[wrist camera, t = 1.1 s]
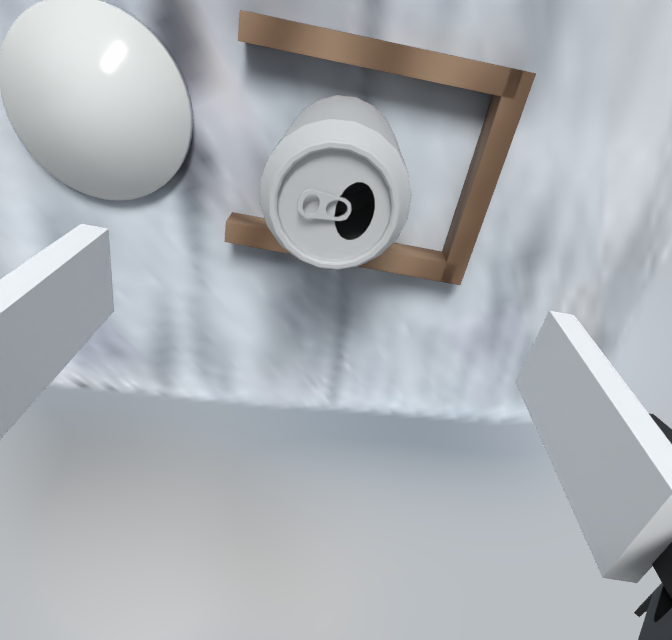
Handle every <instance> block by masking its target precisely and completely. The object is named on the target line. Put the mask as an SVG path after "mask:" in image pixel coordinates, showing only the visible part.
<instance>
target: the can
mask: <svg viewBox="0 0 672 640" xmlns="http://www.w3.org/2000/svg"><path fill="white" fill-rule="evenodd" d="M410 202H411V189H410V183H409V176H408V171H407V168H406V165H405V163H404V160H403V157H402V154H401V152H400V149H399V146H398V143H397V141H396V138H395V135H394V133H393V131H392V129H391V127H390V125H389V123H388V121H387V119H386V118H385V117H384V116H383V115H382V114H381V113H380V112H379V111H378V110H377V109H376V108H375V107H374V106H373V105H371V104H369V103H367V102H365V101H363V100H361V99H359V98H357V97H350V96H340V95H335V96H331V97H327V98H323V99H319V100H317V101H316V102H314V103H313V104H311V105H310V106H308V107H307V108H305V109H304V110H302V112H301V113H300V114H299V116H298V117H297V118H296V120H295V121H294V122H293V123H292V125H291V126H290V128H289V129H288V130H287V132H286V133H285V135H284V136H283V138H282V139H281V140H280V142H279V143H278V145H277V146H276V148H275V149H274V151H273V152H272V153H271V155H270V156H269V158H268V160H267V163H266V166H265V169H264V172H263V175H262V178H261V186H260V205H261V208H262V211H263V214H264V217H265V221H266V224H267V227H268V228H269V229H270V231H271V232H272V234H273V235H274V237H275V238H276V240H277V241H278V242H279V244H280V245H281V246H282V247H284V248H285V249H286V250H287V251H289V252H290V253H291V254H292V255H294V256H295V257H296V258H297V259H299V260H300V261H303V262H305V263H308V264H310V265H313V266H315V267H318V268H324V269H334V270H340V269H345V268H351V267H356V266H359V265H362V264H364V263H366V262H368V261H370V260H372V259H374V258H376V257H378V256H379V255H381V254H382V253H383V252H384V251H385V250H386V249H387V248H388V247H389V246H390V245H391V244H392V243H393V242H394V241H395V240H396V239H397V238H398V236H399V234H400V232H401V230H402V228H403V226H404V225H405V223H406V221H407V219H408V213H409V207H410Z"/></svg>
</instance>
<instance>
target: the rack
mask: <svg viewBox="0 0 672 640" xmlns="http://www.w3.org/2000/svg"><path fill="white" fill-rule="evenodd" d="M238 41H241V42H246V43H251V44H256V45H260V46H265V47H270V48H275V49H279V50H284V51H289V52H294V53H298V54H303V55H308V56H312V57H317V58H322V59H327V60H331V61H336V62H341V63H346V64H350V65H355V66H360V67H365V68H369V69H374V70H379V71H384V72H388V73H393V74H398V75H403V76H407V77H412V78H417V79H422V80H426V81H431V82H436V83H441V84H445V85H450V86H455V87H460V88H464V89H469V90H474V91H479V92H483V93H488V94H493V96H492V99H491V102H490V105H489V108H488V112H487V115H486V118H485V121H484V124H483V127H482V130H481V133H480V136H479V139H478V143H477V146H476V149H475V152H474V155H473V158H472V161H471V164H470V167H469V170H468V173H467V177H466V180H465V183H464V186H463V189H462V192H461V195H460V198H459V201H458V204H457V207H456V211H455V214H454V217H453V220H452V223H451V226H450V229H449V232H448V235H447V238H446V242H445V245H444V248H443V251H442V252H440V251H435V250H430V249H424V248H419V247H414V246H408V245H403V244H398V243H392V244H391V245H390V246H389V247H388V248H387V249H386V250H385V251H384V252H383V253H382V254H381V255H379V256H378V257H376V258H374V259H372V260H370V261H368V262H366V263H364V264H362V265H359V267H364V268H370V269H375V270H381V271H386V272H392V273H397V274H403V275H408V276H413V277H419V278H424V279H430V280H435V281H441V282H446V283H451V284H457V285H460V284H461V281H462V279H463V276H464V273H465V270H466V268H467V265H468V262H469V259H470V256H471V254H472V251H473V248H474V245H475V242H476V240H477V237H478V234H479V231H480V228H481V226H482V223H483V220H484V217H485V215H486V212H487V209H488V206H489V203H490V201H491V198H492V195H493V192H494V189H495V187H496V184H497V181H498V178H499V175H500V173H501V170H502V167H503V164H504V162H505V159H506V156H507V153H508V150H509V148H510V145H511V142H512V139H513V136H514V134H515V131H516V128H517V125H518V122H519V120H520V117H521V114H522V111H523V109H524V106H525V103H526V100H527V97H528V95H529V92H530V89H531V86H532V83H533V81H534V78H535V75H536V74H535V73H531V72H527V71H522V70H517V69H513V68H508V67H503V66H499V65H494V64H489V63H485V62H480V61H476V60H471V59H466V58H462V57H457V56H452V55H448V54H443V53H438V52H434V51H429V50H424V49H420V48H415V47H410V46H406V45H401V44H396V43H392V42H387V41H382V40H378V39H373V38H368V37H364V36H359V35H354V34H350V33H345V32H341V31H336V30H331V29H327V28H322V27H317V26H313V25H308V24H303V23H299V22H294V21H289V20H285V19H280V18H275V17H271V16H266V15H261V14H257V13H252V12H247V11H242V10H240V18H239V33H238ZM225 242H229V243H234V244H239V245H245V246H250V247H256V248H261V249H267V250H272V251H278V252H283V253H288V254H291V253H290V252H289V251H287V250H286V249H285V248H284V247H282V246H281V245H280V244H279V242H278V241H277V240H276V238H275V237H274V235H273V234H272V232H271V231H270V229H269V228H268V227H267V224H266V221H265V218H260V217H254V216H249V215H244V214H238V213H233V212H232V214H231V215H230V217H229V218H228V220H227V221H226V230H225Z"/></svg>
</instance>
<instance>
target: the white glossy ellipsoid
mask: <svg viewBox="0 0 672 640" xmlns="http://www.w3.org/2000/svg"><path fill="white" fill-rule="evenodd" d="M0 91H1V96H2V100H3V104H4V107H5V110H6V113H7V116H8V118H9V120H10V122H11V124H12V127H13V129H14V130H15V132H16V134H17V136H18V137H19V139H20V141H21V142H22V143H23V145H24V146H25V148H26V149H27V150H28V152H29V153H30V154H31V155H32V156H33V157H34V159H35V160H36V161H37V162H38V163H39V164H40V165H41V166H42V167H43V168H44V169H45V170H46V171H48V172H49V173H50V174H51V175H53V176H54V177H55V178H57V179H58V180H59V181H61V182H63V183H64V184H66V185H67V186H69V187H71V188H73V189H75V190H77V191H79V192H81V193H84V194H87V195H89V196H93V197H97V198H101V199H107V200H131V199H136V198H140V197H143V196H146V195H148V194H150V193H153V192H155V191H156V190H158V189H159V188H161V187H162V186H163V185H165V184H166V183H167V182H168V181H169V180H170V179H171V178H172V177H174V175H175V174H176V173H177V172H178V170H179V169H180V168H181V166H182V164H183V162H184V161H185V159H186V156H187V154H188V151H189V148H190V144H191V140H192V132H193V111H192V105H191V99H190V95H189V91H188V88H187V85H186V82H185V80H184V77H183V75H182V72H181V70H180V68H179V67H178V65H177V63H176V61H175V59H174V58H173V56H172V55H171V53H170V52H169V50H168V49H167V47H166V46H165V45H164V44H163V42H162V41H161V40H160V39H159V38H158V37H157V35H156V34H155V33H154V32H152V31H151V30H150V29H149V28H148V27H147V26H146V25H145V24H144V23H142V22H141V21H140V20H138V19H137V18H136V17H135V16H133V15H131V14H130V13H128V12H126V11H125V10H123V9H121V8H119V7H117V6H115V5H112V4H110V3H108V2H104V1H101V0H44V1H41V2H39V3H36V4H35V5H33V6H31V7H30V8H28V9H27V10H26V11H24V12H23V13H22V14H21V15H20V16H19V17H18V18H17V19H16V21H15V22H14V23H13V25H12V26H11V27H10V29H9V31H8V33H7V35H6V37H5V39H4V42H3V45H2V49H1V53H0Z"/></svg>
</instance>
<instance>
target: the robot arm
mask: <svg viewBox="0 0 672 640" xmlns="http://www.w3.org/2000/svg"><path fill="white" fill-rule="evenodd" d="M113 312H114V303H113V289H112V274H111V259H110V244H109V230H108V229H107V228H101V227H96V226H90V225H85V224H80V225H79V226H77V227H76V228H74V229H73V230H71V231H70V232H69V233H67V234H66V235H64V236H63V237H61V238H60V239H58V240H57V241H55V242H54V243H53V244H51V245H50V246H48V247H47V248H45V249H44V250H42V251H41V252H39V253H38V254H36V255H35V256H34V257H32V258H31V259H29V260H28V261H26V262H25V263H23V264H22V265H20V266H19V267H18V268H16V269H15V270H13V271H12V272H10V273H9V274H7V275H6V276H4V277H3V278H2V279H0V440H1V438H2V437H3V436H4V435H5V434H6V433H7V432H8V430H9V429H10V428H11V427H12V426H13V425H14V424H15V423H16V421H17V420H18V419H19V418H20V417H21V416H22V415H23V413H24V412H25V411H26V410H27V409H28V408H29V407H30V406H31V404H32V403H33V402H34V401H35V400H36V399H37V398H38V396H39V395H40V394H41V393H42V392H43V391H44V390H45V389H46V387H47V386H48V385H49V384H50V383H51V382H52V381H53V380H54V378H55V377H56V376H57V375H58V374H59V373H60V372H61V370H62V369H63V368H64V367H65V366H66V365H67V364H68V363H69V361H70V360H71V359H72V358H73V357H74V356H75V355H76V354H77V352H78V351H79V350H80V349H81V348H82V347H83V346H84V344H85V343H86V342H87V341H88V340H89V339H90V338H91V337H92V335H93V334H94V333H95V332H96V331H97V330H98V329H99V327H100V326H101V325H102V324H103V323H104V322H105V321H106V320H107V318H108V317H109V316H110V315H111V314H112V313H113ZM515 382H516V384H517V386H518V389H519V391H520V393H521V395H522V398H523V400H524V402H525V404H526V407H527V409H528V411H529V413H530V416H531V418H532V420H533V422H534V425H535V427H536V429H537V431H538V433H539V436H540V438H541V440H542V442H543V445H544V447H545V449H546V451H547V454H548V456H549V458H550V460H551V463H552V465H553V467H554V469H555V472H556V474H557V476H558V478H559V481H560V483H561V485H562V487H563V490H564V492H565V494H566V496H567V498H568V501H569V503H570V505H571V508H572V510H573V512H574V514H575V517H576V519H577V521H578V523H579V525H580V528H581V530H582V532H583V534H584V537H585V539H586V541H587V543H588V546H589V548H590V550H591V552H592V555H593V557H594V559H595V561H596V563H597V566H598V568H599V570H600V573H601V575H602V577H603V578H609V579H615V580H621V581H628V582H634V583H637V582H638V581H639V580H640V579H641V578H642V577H643V576H644V575H645V574H646V573H647V571H648V570H649V569H650V568H651V567H652V566H653V567H654V569H655V571H656V572H657V574H658V576H659V578H660V580H661V582H662V583H661V584H660V585H659V587H657V589H656V590H655V591H654V592H653V593H652V594H651V595H650V596H649V597H648V598H647V599H646V600H645V601H644V602H643V603H642V604H641V605H640V606H639V608H638V609H637V610H636V611H635V612H634V613H635V614H636V615H637V616H639V617H640V616H641V615H642V614H643V613H644V612H647V613H646V616H645V620H644V623H643V626H642V629H641V632H640V635H639V639H638V640H672V429H670V428H669V427H668V426H667V425H666V424H664V423H663V422H662V421H661V420H660V419H658V418H657V417H656V416H655V415H654V414H649V413H648V412H647V411H646V410H645V408H644V407H643V406H642V404H641V403H640V402H639V400H638V399H637V398H636V397H635V395H634V394H633V393H632V391H631V390H630V389H629V387H628V386H627V385H626V383H625V382H624V381H623V379H622V378H621V377H620V375H619V374H618V373H617V371H616V370H615V369H614V367H613V366H612V365H611V363H610V362H609V361H608V360H607V358H606V357H605V356H604V354H603V353H602V352H601V350H600V349H599V348H598V346H597V345H596V344H595V342H594V341H593V340H592V338H591V337H590V336H589V334H588V333H587V332H586V330H585V329H584V328H583V327H582V325H581V324H580V323H579V321H578V320H577V319H576V317H575V316H574V315H571V314H565V313H560V312H555V311H549V313H548V315H547V317H546V319H545V321H544V323H543V325H542V327H541V329H540V331H539V333H538V336H537V338H536V340H535V342H534V344H533V346H532V348H531V350H530V352H529V354H528V356H527V358H526V360H525V362H524V365H523V367H522V369H521V371H520V373H519V375H518V377H517V379H516V381H515Z"/></svg>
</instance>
